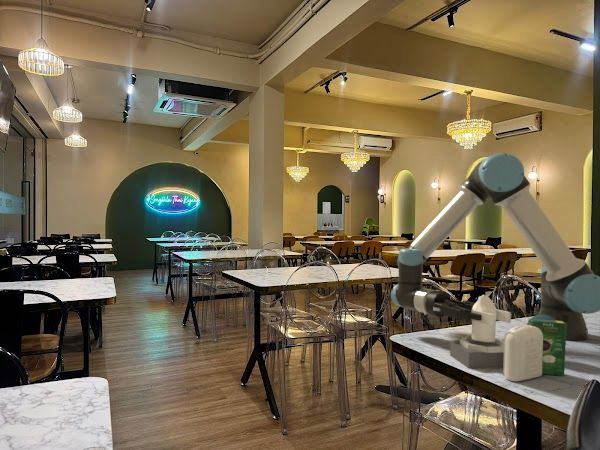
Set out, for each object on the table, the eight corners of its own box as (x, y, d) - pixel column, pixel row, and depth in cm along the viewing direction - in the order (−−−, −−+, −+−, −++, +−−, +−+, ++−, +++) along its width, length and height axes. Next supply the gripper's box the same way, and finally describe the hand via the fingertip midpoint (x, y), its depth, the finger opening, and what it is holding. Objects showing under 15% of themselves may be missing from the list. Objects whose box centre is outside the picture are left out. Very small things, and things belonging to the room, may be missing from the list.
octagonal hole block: (496, 353, 119) (496, 334, 119) (522, 367, 108) (522, 347, 108) (449, 354, 118) (449, 336, 118) (470, 369, 106) (470, 348, 106)
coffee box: (560, 372, 105) (562, 319, 104) (565, 376, 102) (567, 322, 101) (525, 369, 106) (526, 317, 106) (529, 374, 103) (530, 320, 103)
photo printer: (528, 370, 105) (529, 321, 105) (545, 376, 101) (546, 325, 101) (500, 377, 101) (501, 326, 100) (516, 384, 97) (517, 330, 96)
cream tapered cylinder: (492, 293, 115) (500, 296, 109) (491, 337, 115) (499, 343, 110) (469, 292, 116) (476, 296, 110) (468, 336, 116) (475, 342, 110)
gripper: (453, 312, 133) (524, 329, 113) (409, 318, 124) (477, 338, 103) (454, 288, 133) (524, 301, 112) (410, 292, 124) (478, 307, 103)
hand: (501, 318), depth 108 cm, fingers closed on cream tapered cylinder, 6 cm apart
